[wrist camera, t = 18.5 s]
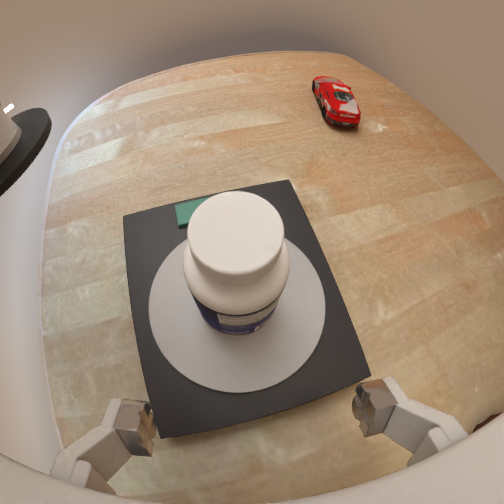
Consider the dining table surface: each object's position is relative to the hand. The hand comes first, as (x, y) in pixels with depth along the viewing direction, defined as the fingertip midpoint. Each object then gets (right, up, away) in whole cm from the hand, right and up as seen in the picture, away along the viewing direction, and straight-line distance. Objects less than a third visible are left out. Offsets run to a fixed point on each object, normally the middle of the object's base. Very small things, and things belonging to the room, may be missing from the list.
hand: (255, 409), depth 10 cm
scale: (-2, +2, +14) cm, 14 cm away
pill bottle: (-1, +2, +11) cm, 11 cm away
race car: (+12, +28, +29) cm, 42 cm away
